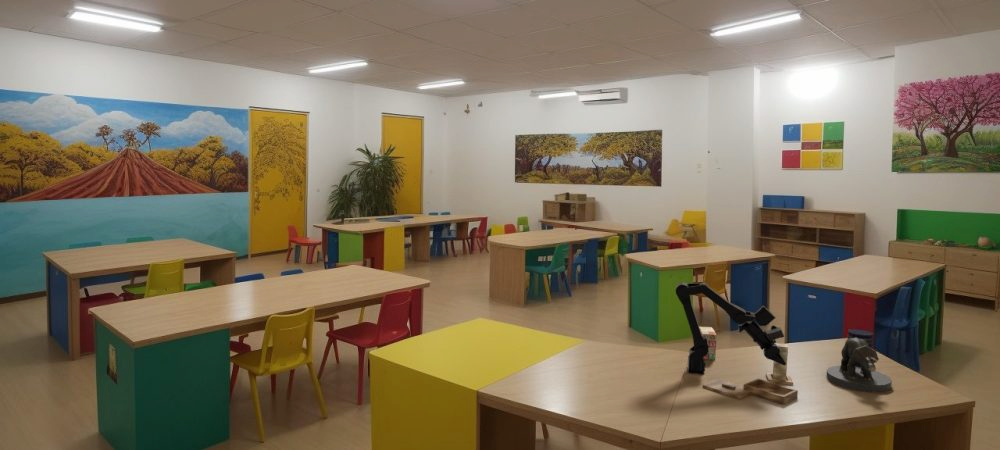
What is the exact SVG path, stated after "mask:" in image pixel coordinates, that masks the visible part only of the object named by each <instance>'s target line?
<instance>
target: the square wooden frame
mask: <svg viewBox="0 0 1000 450" xmlns="http://www.w3.org/2000/svg"><path fill="white" fill-rule="evenodd" d="M765 376H766V381H768V382H771V383H775V384H778V385H789V386H794V381H793V378H792V377H791V375H790V374H786V380H777V379H773V372H767V371H766V372H765Z"/></svg>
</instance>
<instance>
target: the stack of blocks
mask: <svg viewBox="0 0 1000 450" xmlns="http://www.w3.org/2000/svg"><path fill="white" fill-rule="evenodd" d="M699 328H700V331H701V333H702V335H703V336H705V335H706V336H707V341H708V342H709V347H710V348H708V350H709V351H708V354H707V355H706V356H704V357H703V358H704V360H710V361H711V360H714V361H715V360H716V356H717V355H716V352H717V351H716V349H717V348H716V347H717V333H716V331H715V329H714V328H713V327H712V326H699Z"/></svg>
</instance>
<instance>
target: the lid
mask: <svg viewBox="0 0 1000 450" xmlns="http://www.w3.org/2000/svg"><path fill="white" fill-rule="evenodd" d="M743 387H744V386H742V385H738V384H736V383H732V382H728V381H726V380H723V379H719V378H717V379H714V380H711V381H709V382H706V383H703V384H702V388H704V389H707V390H710V391H713V392H716V393H719V394H722V395H725V396H728V397H731V398H734V399H737V400H742V399H744V398H746V397H749V396H752V395H751V392H750V391H747V390H743Z"/></svg>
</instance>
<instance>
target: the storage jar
mask: <svg viewBox="0 0 1000 450" xmlns="http://www.w3.org/2000/svg"><path fill="white" fill-rule="evenodd" d="M855 337H857V338H859V339H863V340H864V341H865V342H867V344H868V346H869V347H870V348H872V349H873V345H874V333H873V331H870V330H865V329H860V328H850V329H848V330H847V339H850V338H855ZM849 360H850V359H849ZM855 367H860V366H858V365H857V364H856V365H855Z"/></svg>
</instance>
